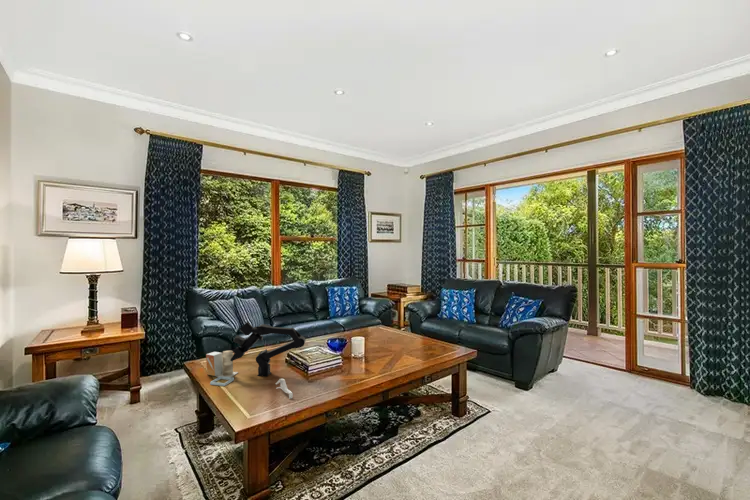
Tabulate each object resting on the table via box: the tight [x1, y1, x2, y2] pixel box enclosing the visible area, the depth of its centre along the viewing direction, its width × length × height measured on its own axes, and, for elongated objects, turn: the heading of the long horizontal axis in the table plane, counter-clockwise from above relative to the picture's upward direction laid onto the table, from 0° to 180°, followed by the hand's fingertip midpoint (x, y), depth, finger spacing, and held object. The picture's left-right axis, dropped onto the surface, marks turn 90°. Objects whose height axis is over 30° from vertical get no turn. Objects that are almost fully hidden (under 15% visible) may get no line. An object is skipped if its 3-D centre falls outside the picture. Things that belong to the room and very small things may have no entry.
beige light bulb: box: [222, 350, 234, 376], centre depth 223 cm, size 6×6×14 cm
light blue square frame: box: [209, 376, 235, 387], centre depth 211 cm, size 9×9×2 cm
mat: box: [216, 371, 239, 378], centre depth 223 cm, size 9×9×1 cm
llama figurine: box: [275, 378, 294, 400], centre depth 197 cm, size 2×11×18 cm
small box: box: [205, 351, 223, 377], centre depth 224 cm, size 8×6×13 cm
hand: (233, 358), depth 223 cm, fingers open, 9 cm apart
